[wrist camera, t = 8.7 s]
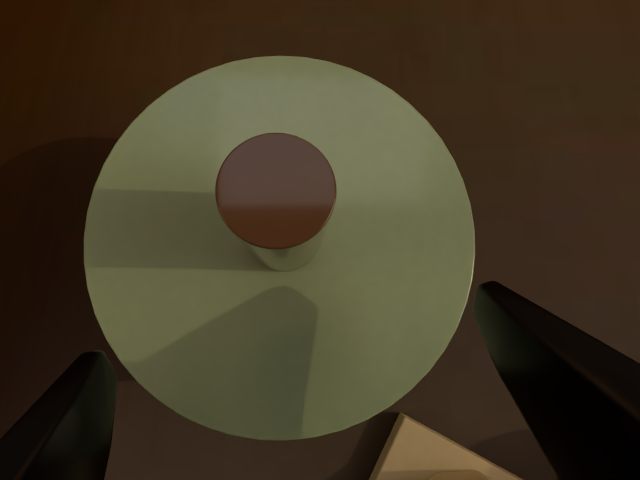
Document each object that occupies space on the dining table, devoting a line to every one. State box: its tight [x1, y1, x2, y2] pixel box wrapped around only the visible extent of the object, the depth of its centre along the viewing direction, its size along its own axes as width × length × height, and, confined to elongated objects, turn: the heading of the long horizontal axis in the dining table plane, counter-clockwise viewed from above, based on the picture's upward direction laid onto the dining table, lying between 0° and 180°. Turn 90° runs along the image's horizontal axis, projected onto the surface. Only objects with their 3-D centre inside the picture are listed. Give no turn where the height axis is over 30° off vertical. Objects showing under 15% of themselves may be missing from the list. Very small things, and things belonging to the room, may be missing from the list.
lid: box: [84, 56, 475, 441], centre depth 12 cm, size 13×13×6 cm
